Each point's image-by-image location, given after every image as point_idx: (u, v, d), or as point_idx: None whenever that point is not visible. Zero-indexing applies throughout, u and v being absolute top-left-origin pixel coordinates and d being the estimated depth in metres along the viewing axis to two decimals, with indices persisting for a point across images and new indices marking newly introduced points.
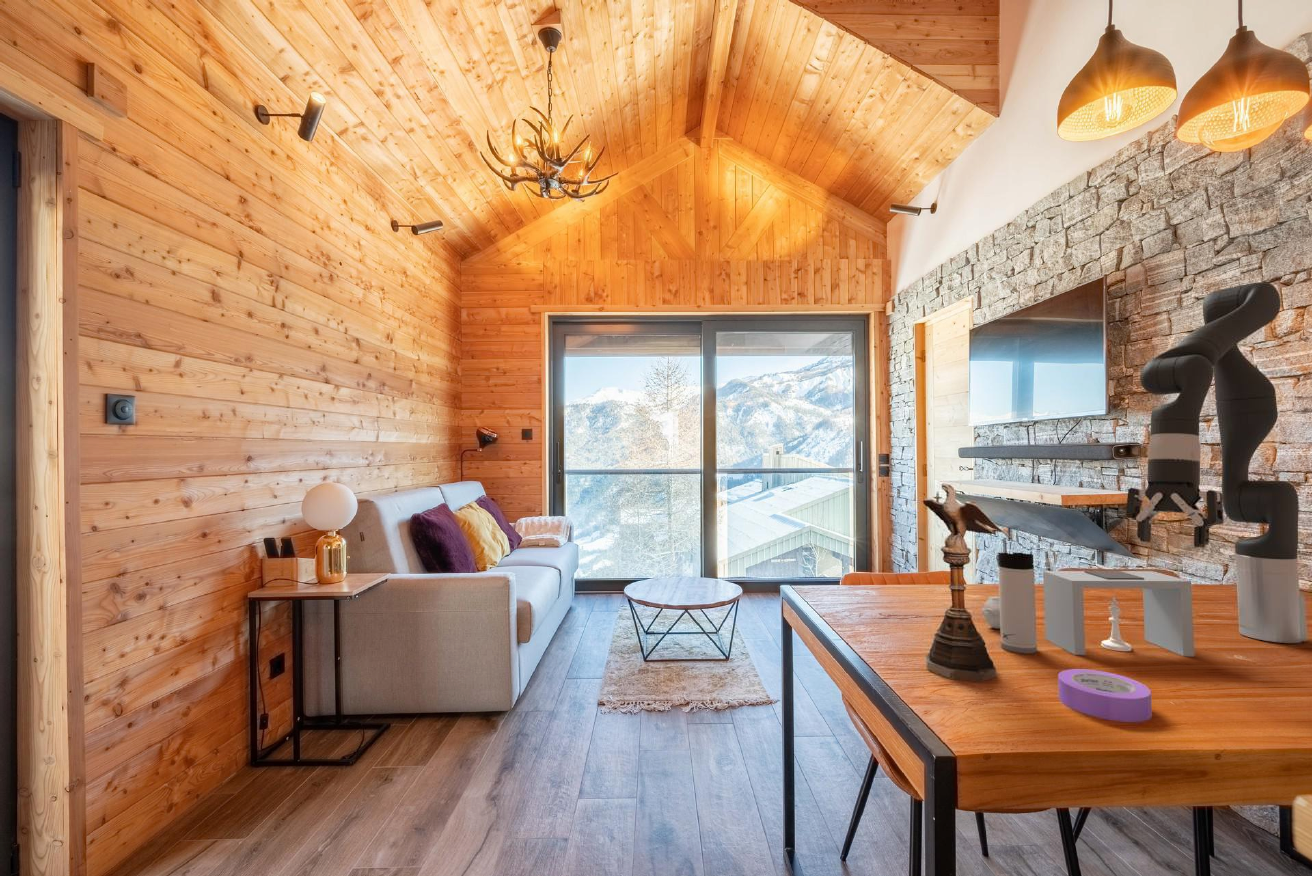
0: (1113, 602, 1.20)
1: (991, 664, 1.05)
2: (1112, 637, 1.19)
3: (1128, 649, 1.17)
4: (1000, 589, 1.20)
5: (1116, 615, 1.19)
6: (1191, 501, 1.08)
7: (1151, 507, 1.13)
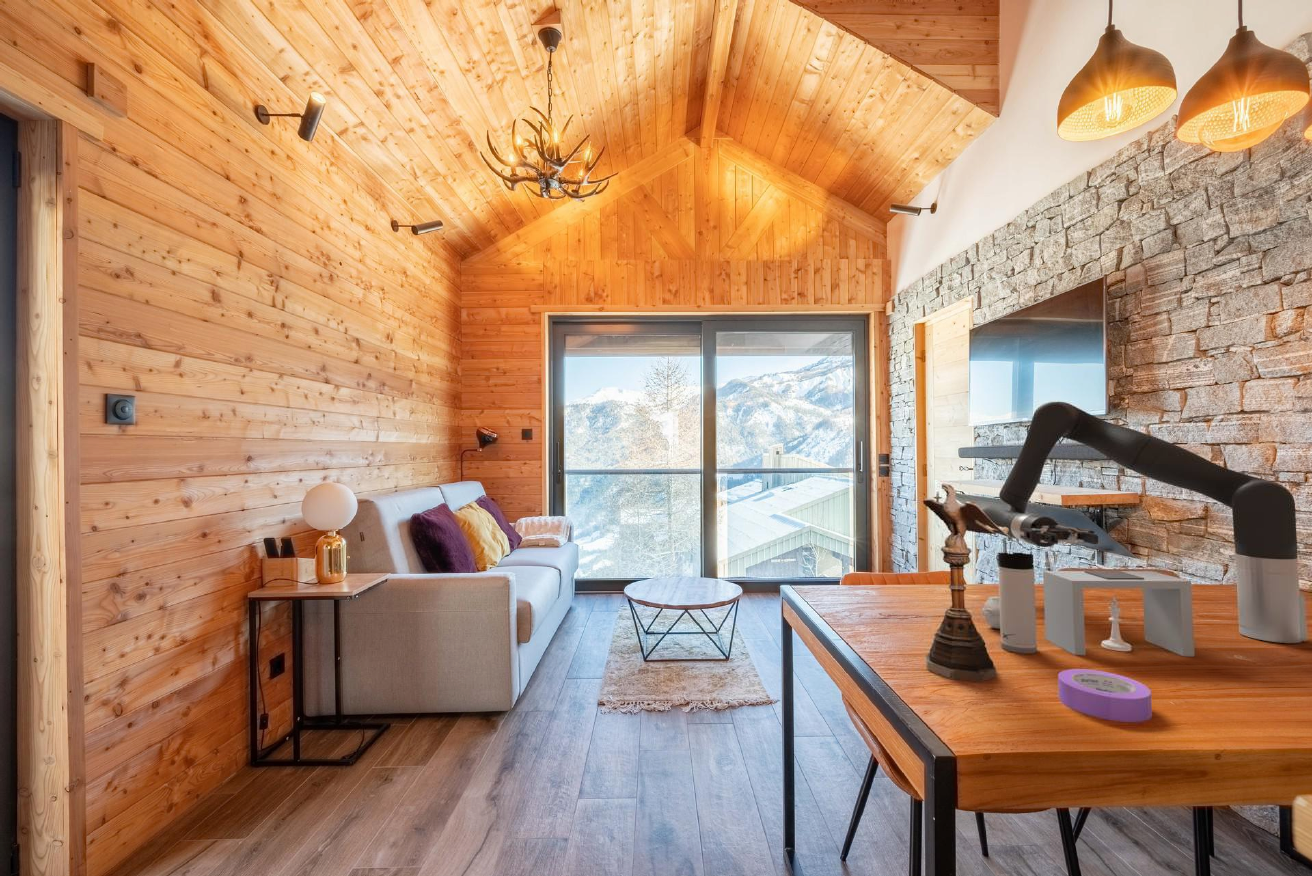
0: (1113, 602, 1.20)
1: (991, 664, 1.05)
2: (1112, 637, 1.19)
3: (1128, 649, 1.17)
4: (1000, 589, 1.20)
5: (1116, 615, 1.19)
6: None
7: (1069, 542, 1.38)
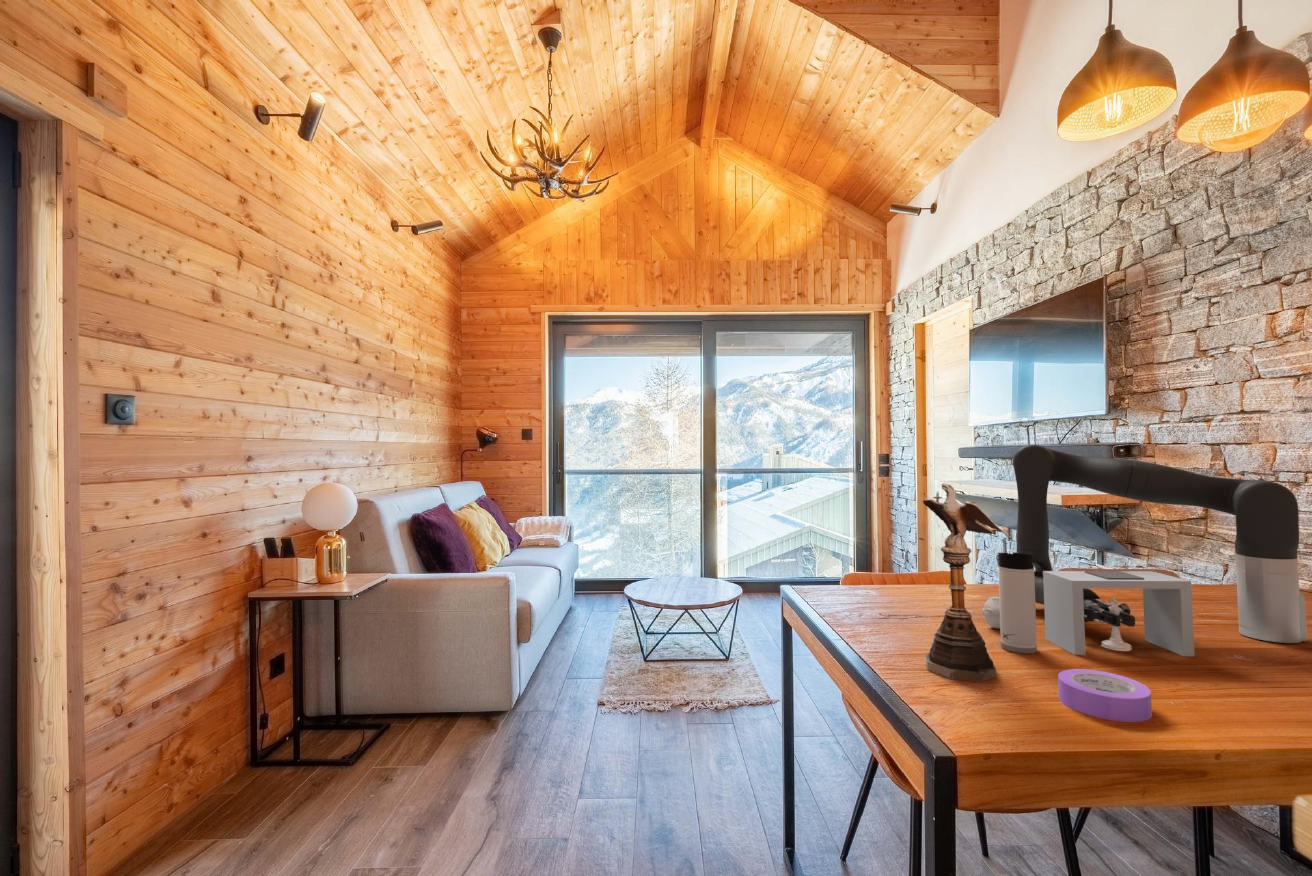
0: (1113, 602, 1.20)
1: (991, 664, 1.05)
2: (1112, 637, 1.19)
3: (1128, 649, 1.17)
4: (1000, 589, 1.20)
5: None
6: (1084, 614, 1.25)
7: None
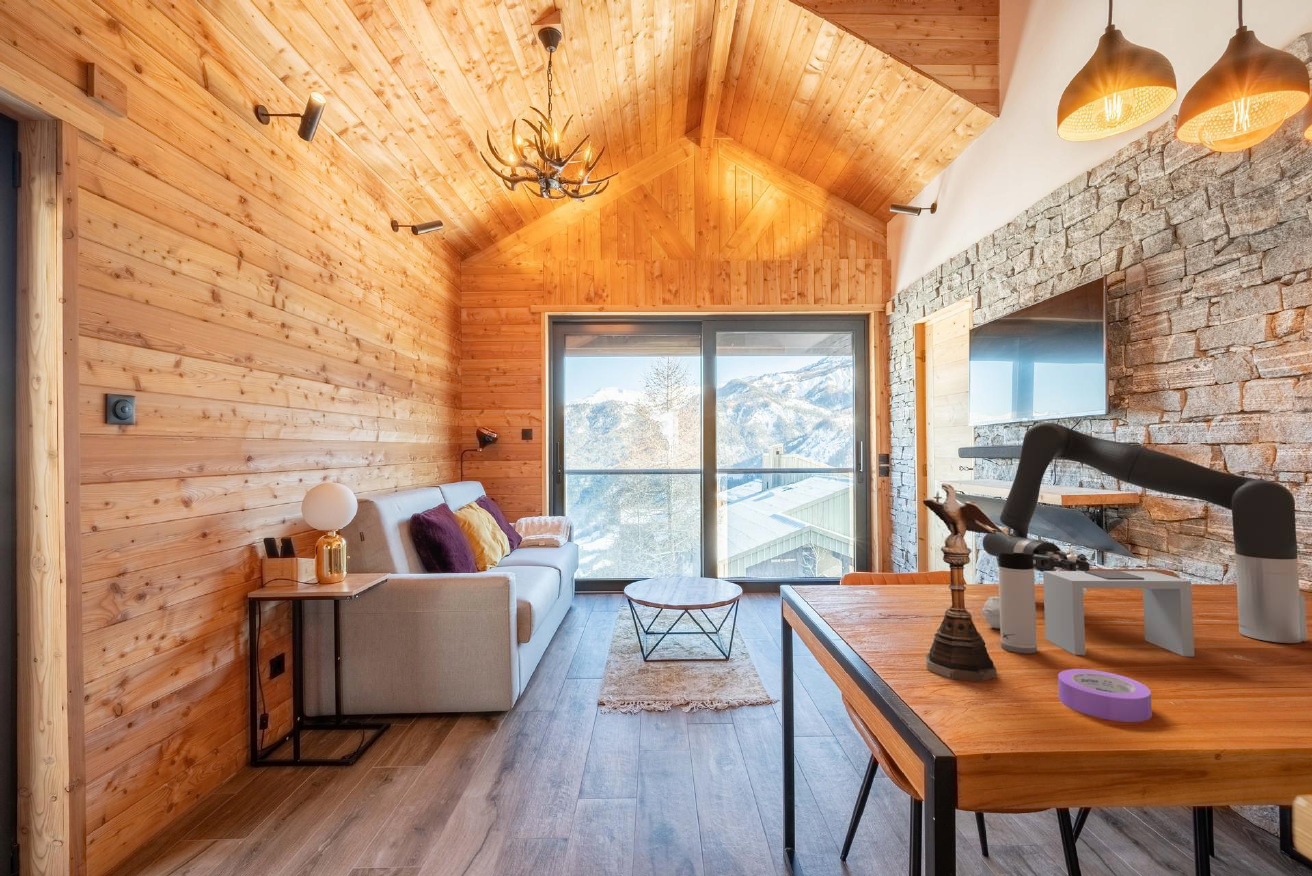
0: (1070, 551, 1.34)
1: (991, 664, 1.05)
2: None
3: (1084, 592, 1.31)
4: (1000, 589, 1.20)
5: None
6: (1047, 564, 1.39)
7: None
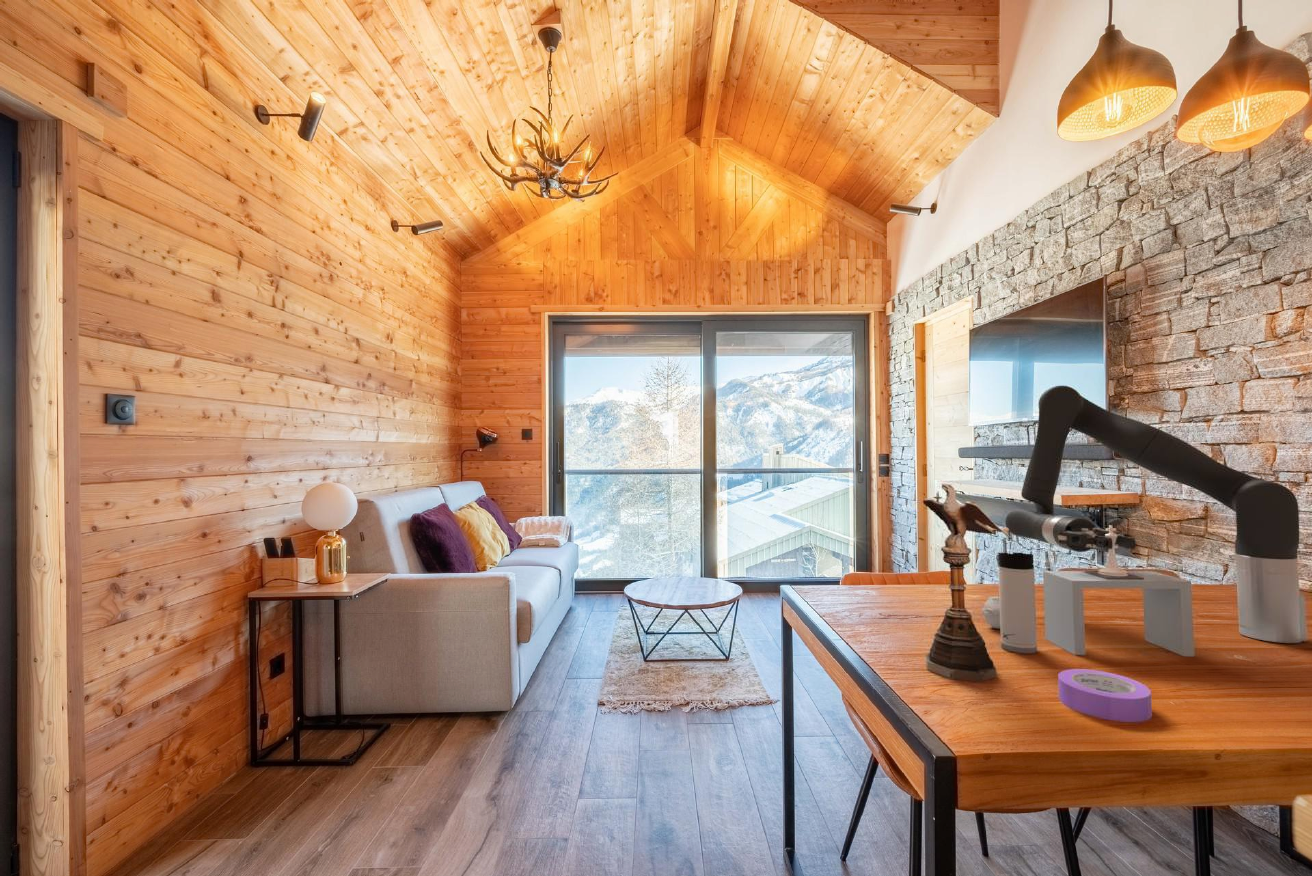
0: (1109, 529, 1.20)
1: (991, 664, 1.05)
2: (1108, 564, 1.20)
3: (1124, 574, 1.18)
4: (1000, 589, 1.20)
5: (1112, 542, 1.20)
6: None
7: None
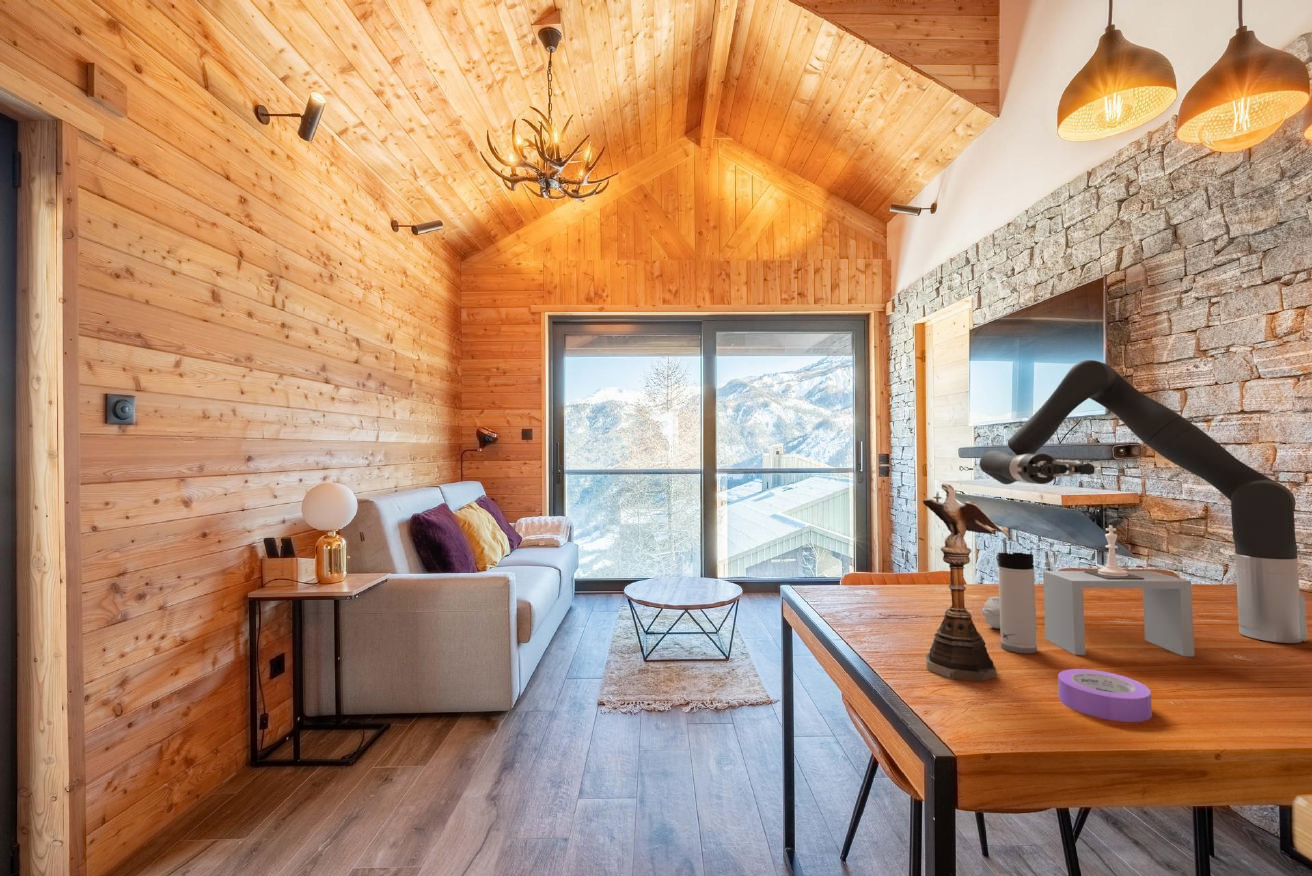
0: (1109, 529, 1.20)
1: (991, 664, 1.05)
2: (1108, 564, 1.20)
3: (1124, 574, 1.18)
4: (1000, 589, 1.20)
5: (1112, 542, 1.20)
6: (1036, 472, 1.41)
7: None
